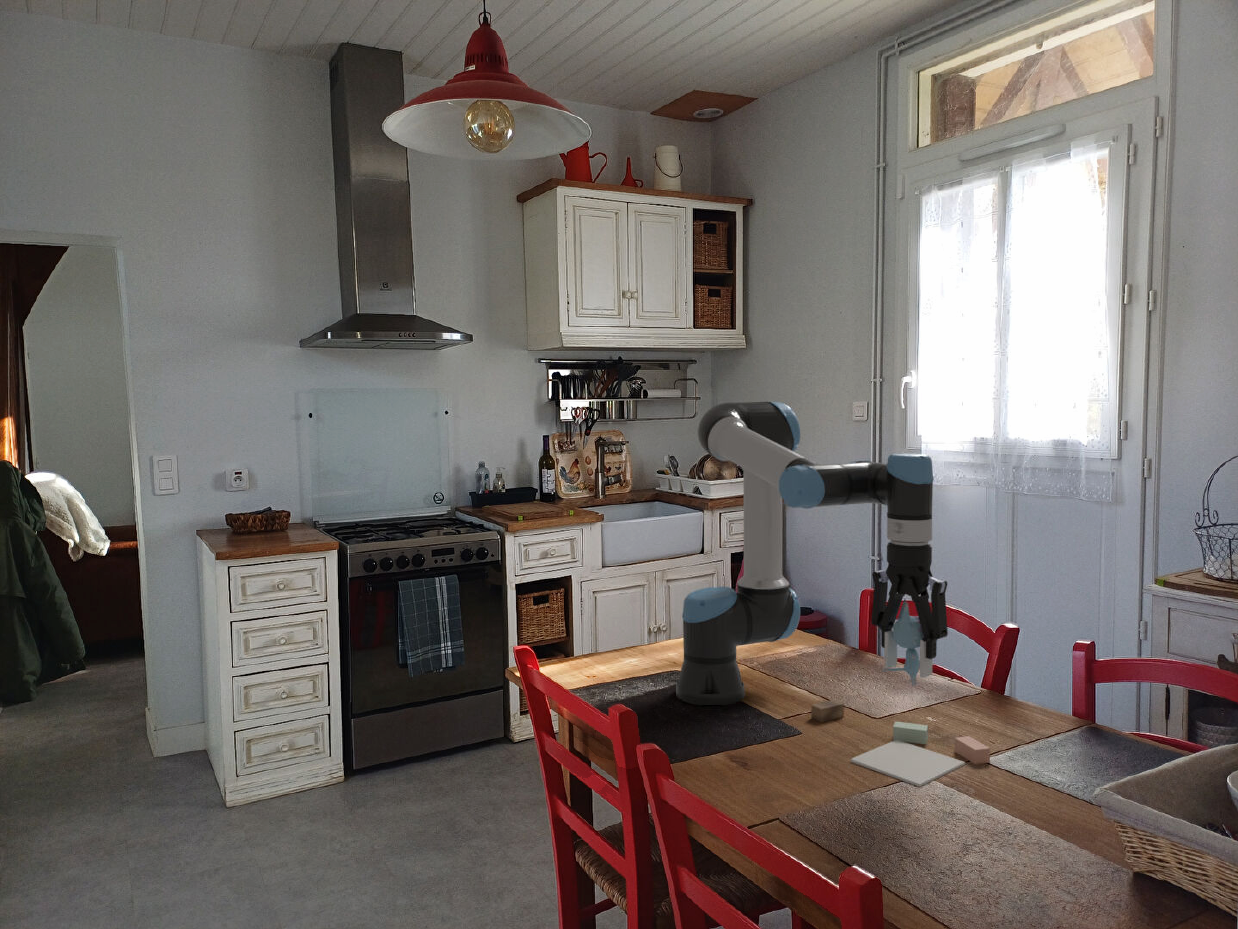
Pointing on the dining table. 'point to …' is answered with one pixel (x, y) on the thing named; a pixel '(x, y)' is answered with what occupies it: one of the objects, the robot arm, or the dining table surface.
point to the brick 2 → (910, 732)
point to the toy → (908, 641)
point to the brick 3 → (972, 750)
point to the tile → (908, 762)
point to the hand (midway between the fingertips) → (908, 670)
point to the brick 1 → (827, 710)
